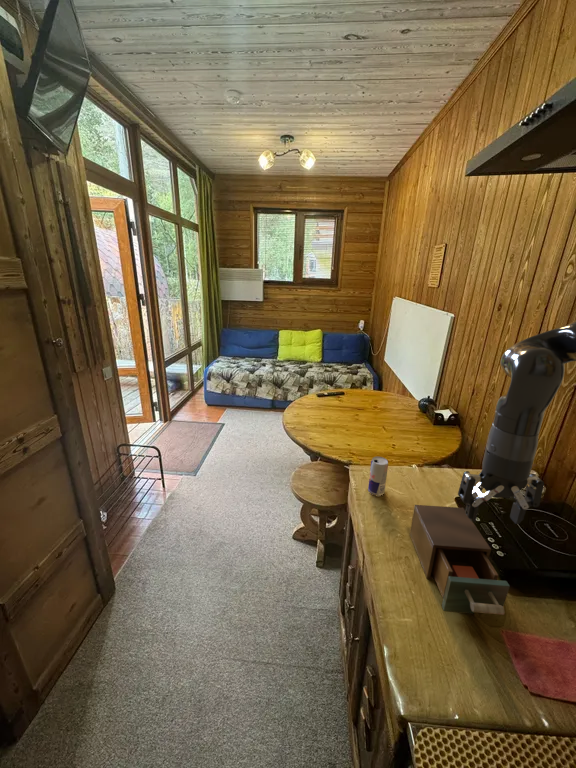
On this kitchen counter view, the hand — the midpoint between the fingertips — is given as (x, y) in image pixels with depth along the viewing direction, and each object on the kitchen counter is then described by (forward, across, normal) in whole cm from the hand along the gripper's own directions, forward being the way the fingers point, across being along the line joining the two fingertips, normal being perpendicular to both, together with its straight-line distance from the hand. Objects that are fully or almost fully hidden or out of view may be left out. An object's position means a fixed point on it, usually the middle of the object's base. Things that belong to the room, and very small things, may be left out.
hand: (492, 519), depth 63 cm
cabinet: (+20, +3, -10) cm, 23 cm away
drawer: (+20, +3, +1) cm, 20 cm away
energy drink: (+20, +15, -35) cm, 43 cm away
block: (+18, +3, +1) cm, 19 cm away
